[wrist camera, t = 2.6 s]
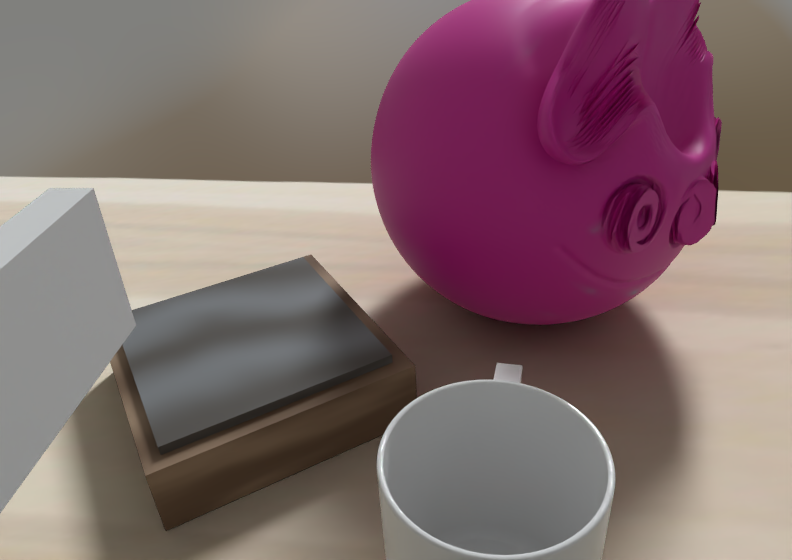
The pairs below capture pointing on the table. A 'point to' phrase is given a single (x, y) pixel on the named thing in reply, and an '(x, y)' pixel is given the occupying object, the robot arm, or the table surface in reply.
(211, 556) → the table surface
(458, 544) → the mug
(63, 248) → the robot arm
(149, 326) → the walnut plinth
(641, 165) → the figurine
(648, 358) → the table surface
